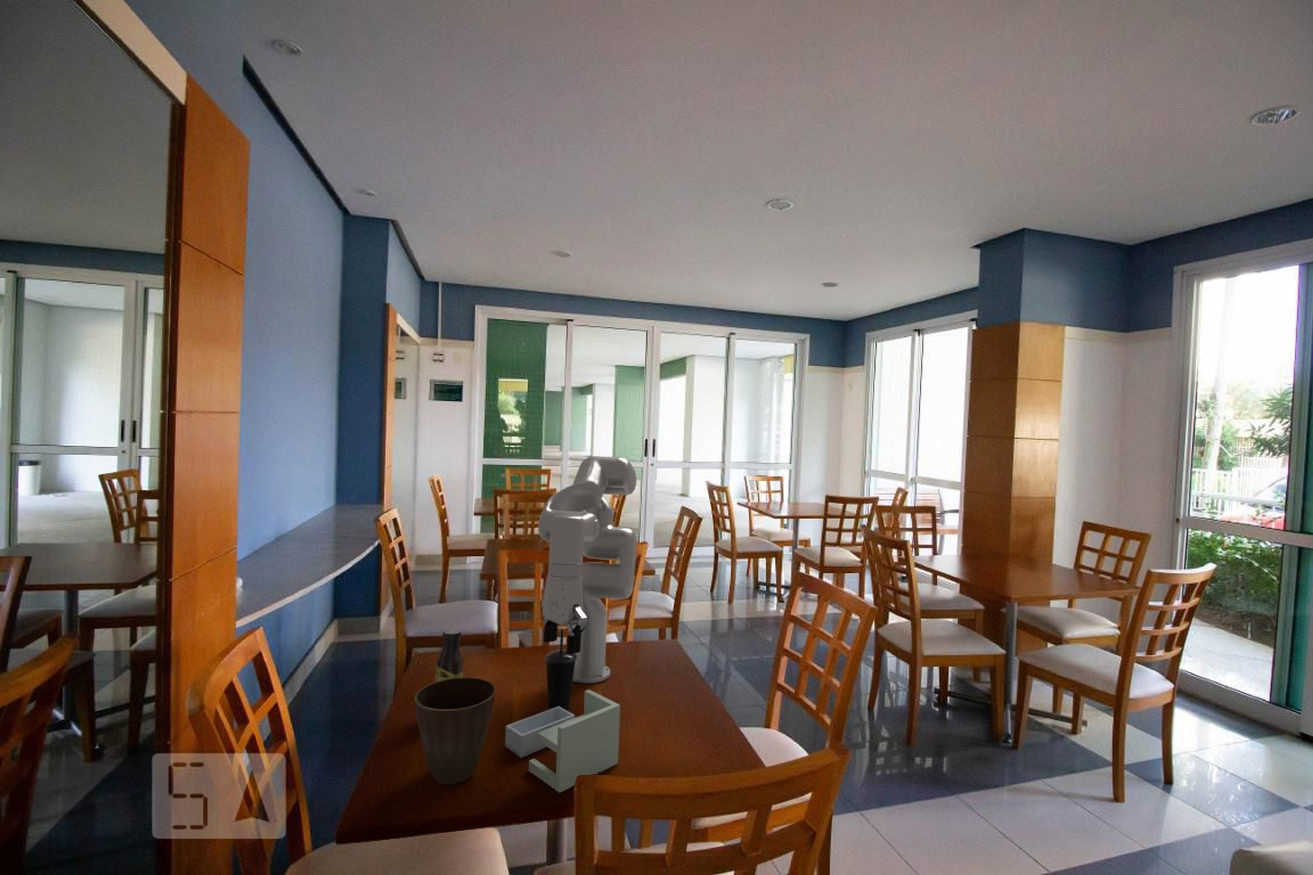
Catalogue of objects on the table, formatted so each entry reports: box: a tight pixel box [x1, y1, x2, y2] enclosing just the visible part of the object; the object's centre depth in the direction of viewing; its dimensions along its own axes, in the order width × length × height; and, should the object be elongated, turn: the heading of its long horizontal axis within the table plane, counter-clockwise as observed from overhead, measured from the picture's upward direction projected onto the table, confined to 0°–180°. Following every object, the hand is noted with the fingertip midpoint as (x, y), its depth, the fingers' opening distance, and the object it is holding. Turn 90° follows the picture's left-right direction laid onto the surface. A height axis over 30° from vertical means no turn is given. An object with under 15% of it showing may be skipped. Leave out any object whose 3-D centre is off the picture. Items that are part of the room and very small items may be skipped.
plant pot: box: [414, 676, 497, 786], centre depth 114 cm, size 15×15×16 cm
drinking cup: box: [544, 629, 577, 712], centre depth 142 cm, size 8×8×20 cm
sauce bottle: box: [434, 627, 464, 683], centre depth 139 cm, size 6×6×20 cm
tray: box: [504, 706, 576, 759], centre depth 128 cm, size 14×6×4 cm, turn 137°
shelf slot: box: [528, 689, 621, 794], centre depth 118 cm, size 10×15×12 cm, turn 136°
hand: (561, 646), depth 130 cm, fingers open, 9 cm apart
